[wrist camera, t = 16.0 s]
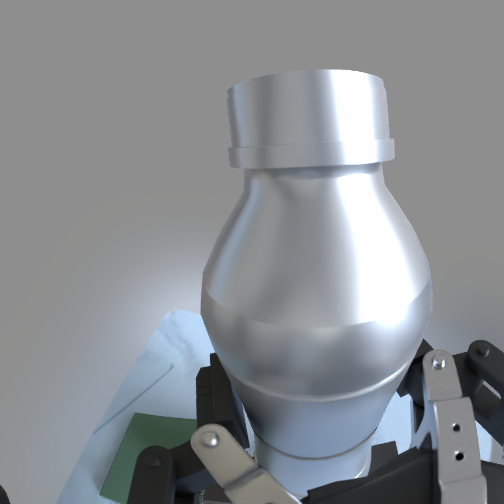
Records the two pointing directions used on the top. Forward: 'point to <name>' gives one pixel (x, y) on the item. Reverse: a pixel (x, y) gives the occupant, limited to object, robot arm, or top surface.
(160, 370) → the top surface
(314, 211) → the silver metal bottle
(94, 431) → the top surface
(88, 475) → the top surface
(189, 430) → the drying mat
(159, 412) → the top surface
